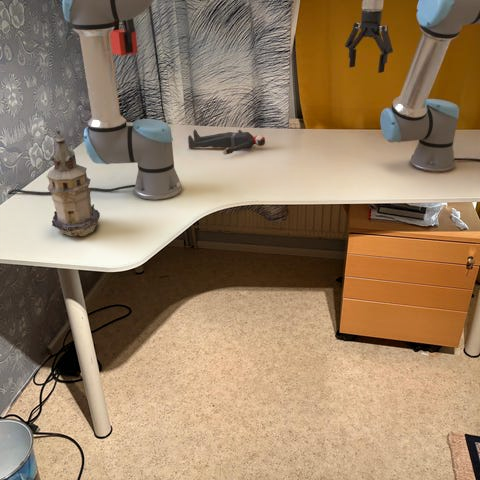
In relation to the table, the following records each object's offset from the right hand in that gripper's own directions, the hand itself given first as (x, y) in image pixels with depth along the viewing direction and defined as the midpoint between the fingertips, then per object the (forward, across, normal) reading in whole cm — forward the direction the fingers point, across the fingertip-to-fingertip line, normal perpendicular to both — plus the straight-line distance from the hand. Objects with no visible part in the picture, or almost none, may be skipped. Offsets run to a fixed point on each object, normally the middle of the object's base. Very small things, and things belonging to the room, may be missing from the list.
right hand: (366, 69), depth 207 cm
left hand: (-9, +60, +70) cm, 93 cm away
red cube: (-8, +60, +70) cm, 93 cm away
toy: (+28, +30, +46) cm, 61 cm away
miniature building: (+28, +9, +122) cm, 126 cm away
